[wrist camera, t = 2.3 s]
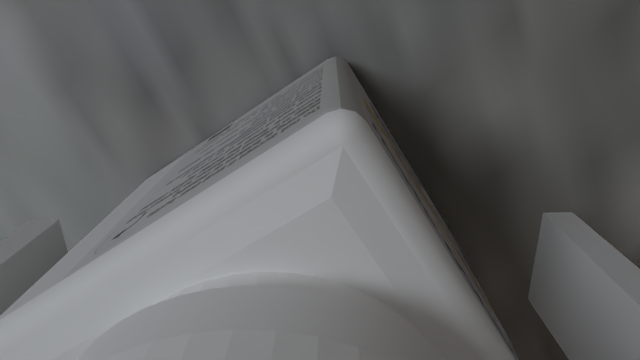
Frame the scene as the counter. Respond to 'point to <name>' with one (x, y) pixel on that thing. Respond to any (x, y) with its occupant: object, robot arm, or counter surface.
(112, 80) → the counter surface
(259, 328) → the container
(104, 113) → the counter surface
